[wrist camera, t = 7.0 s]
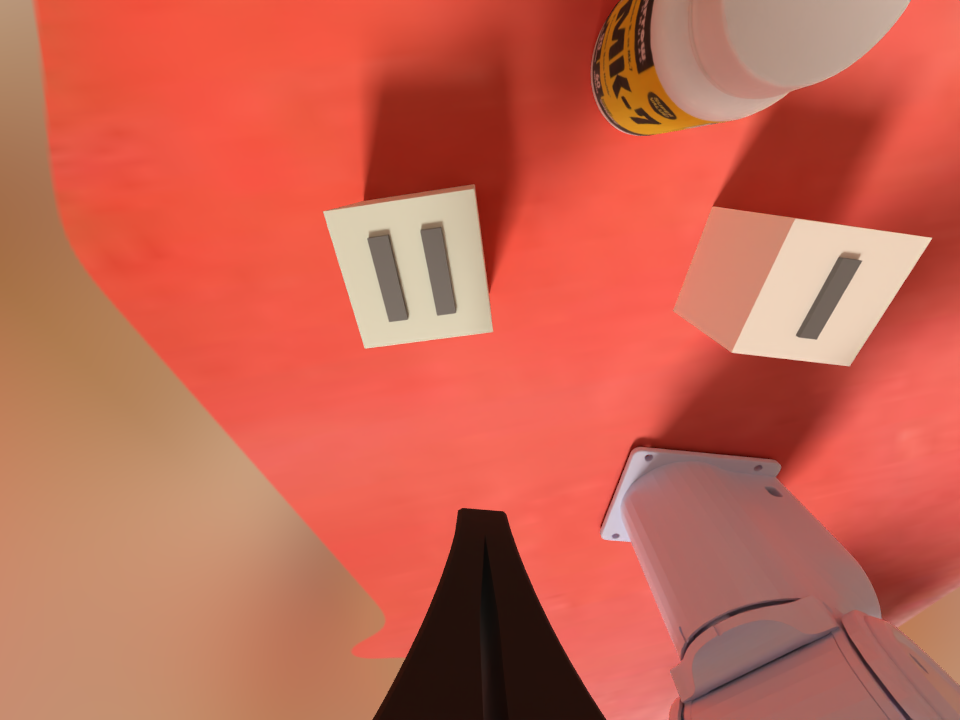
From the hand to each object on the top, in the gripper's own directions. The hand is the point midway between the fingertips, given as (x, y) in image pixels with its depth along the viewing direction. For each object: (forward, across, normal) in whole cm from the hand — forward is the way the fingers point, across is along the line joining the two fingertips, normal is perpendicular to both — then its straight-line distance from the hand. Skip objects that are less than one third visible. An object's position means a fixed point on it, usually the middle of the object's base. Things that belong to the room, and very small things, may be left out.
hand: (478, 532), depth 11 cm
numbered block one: (+10, -12, -7) cm, 17 cm away
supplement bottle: (+11, -5, -14) cm, 18 cm away
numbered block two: (+10, +3, -6) cm, 12 cm away
